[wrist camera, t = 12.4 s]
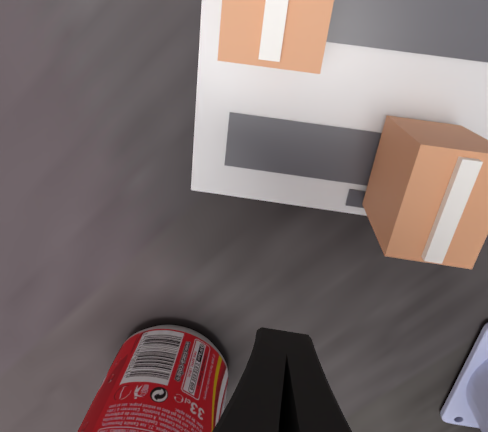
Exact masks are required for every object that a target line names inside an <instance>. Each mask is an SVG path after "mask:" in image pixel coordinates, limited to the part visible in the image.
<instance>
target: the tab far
mask: <svg viewBox="0 0 488 432" xmlns="http://www.w3.org/2000/svg"><path fill="white" fill-rule="evenodd" d="M362 205H363V207H364V209H365V212H366V214H367V216H368V219H369V221H370V223H371V226H372V228H373V230H374V233H375V235H376V237H377V239H378V242H379V244H380V246H381V249H382V251H383V253H384V256H387V257H393V258H400V259H407V260H413V261H420V262H427V263H433V264H440V265H447V266H453V267H460V268H467V269H472V268H473V266H474V264H475V261H476V259H477V257H478V255H479V253H480V250H481V248H482V246H483V244H484V241H485V239H486V237H487V235H488V140H487V139H485V138H483V137H481V136H480V135H478V134H476V133H474V132H472V131H470V130H469V129H467V128H465V127H463V126H461V125H454V124H447V123H439V122H432V121H424V120H417V119H410V118H402V117H395V116H386V119H385V123H384V127H383V130H382V134H381V138H380V141H379V145H378V149H377V152H376V156H375V160H374V163H373V167H372V171H371V174H370V178H369V181H368V185H367V189H366V192H365V196H364V200H363V203H362Z"/></svg>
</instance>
